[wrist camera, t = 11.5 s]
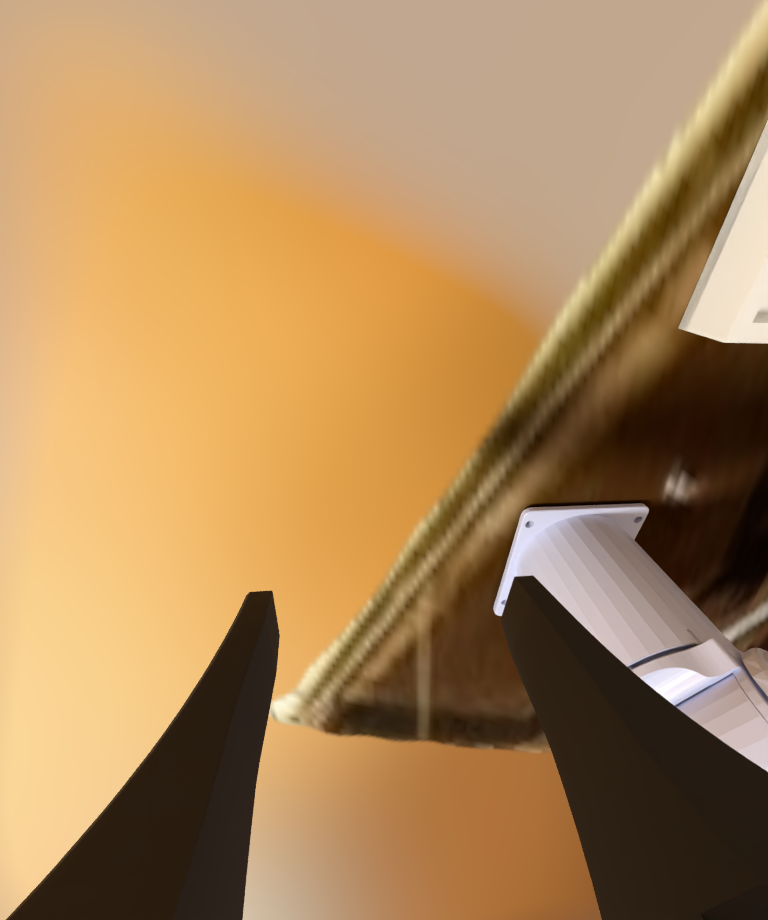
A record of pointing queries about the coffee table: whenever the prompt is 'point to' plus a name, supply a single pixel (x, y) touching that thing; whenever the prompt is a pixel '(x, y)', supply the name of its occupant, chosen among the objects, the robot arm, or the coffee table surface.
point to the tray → (737, 266)
